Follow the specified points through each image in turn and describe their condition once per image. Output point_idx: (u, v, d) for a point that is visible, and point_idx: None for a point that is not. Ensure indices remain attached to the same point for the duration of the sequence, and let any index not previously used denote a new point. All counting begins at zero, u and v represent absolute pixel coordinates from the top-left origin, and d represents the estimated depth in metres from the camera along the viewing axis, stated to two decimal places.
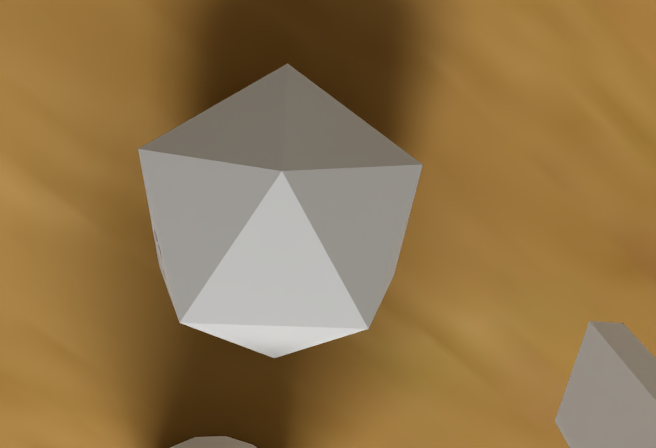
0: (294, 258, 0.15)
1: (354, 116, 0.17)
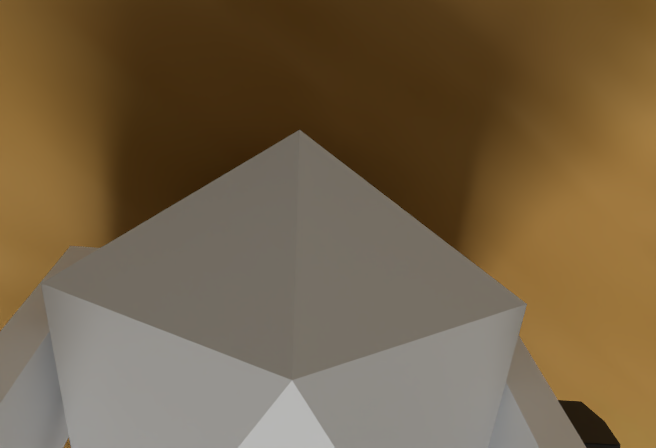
0: None
1: (412, 221, 0.10)
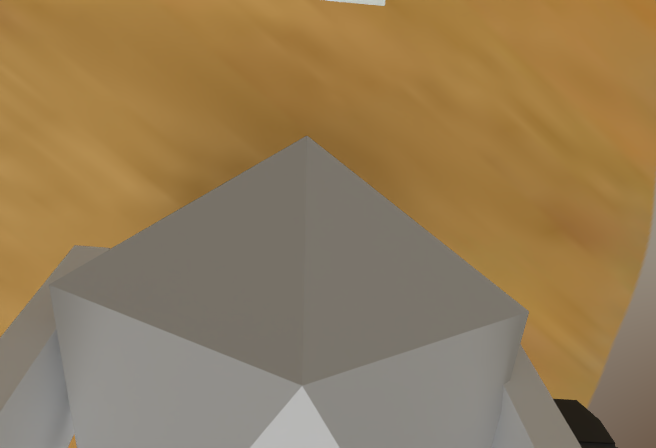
0: None
1: (416, 228, 0.10)
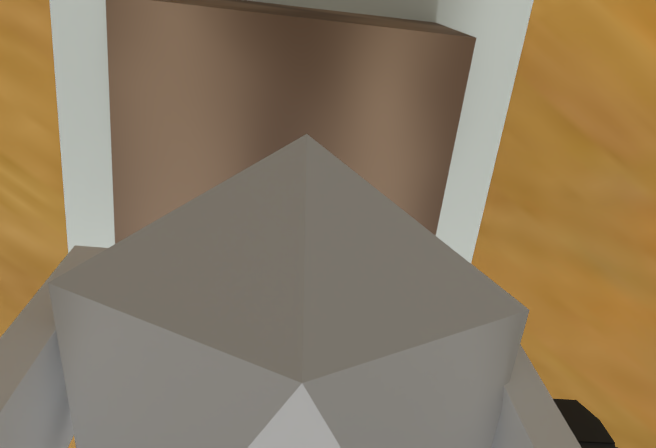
0: None
1: (417, 226, 0.10)
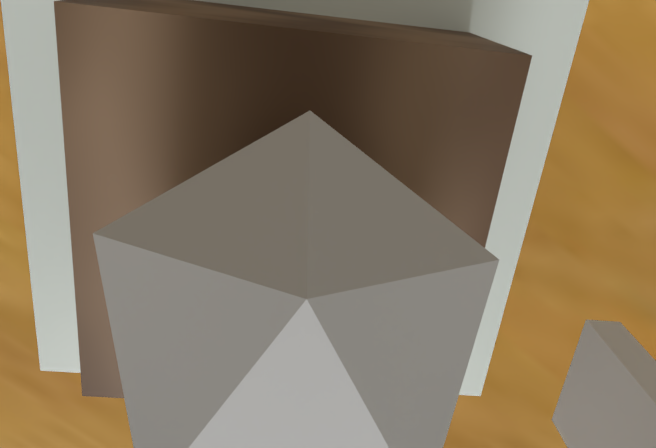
0: (320, 419, 0.10)
1: (403, 188, 0.12)
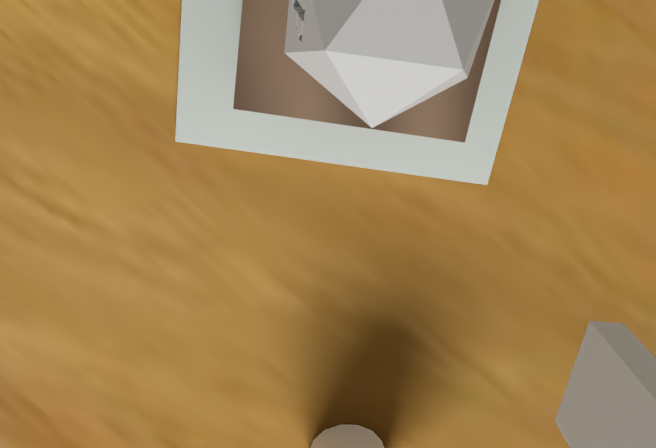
0: (417, 0, 0.20)
1: None
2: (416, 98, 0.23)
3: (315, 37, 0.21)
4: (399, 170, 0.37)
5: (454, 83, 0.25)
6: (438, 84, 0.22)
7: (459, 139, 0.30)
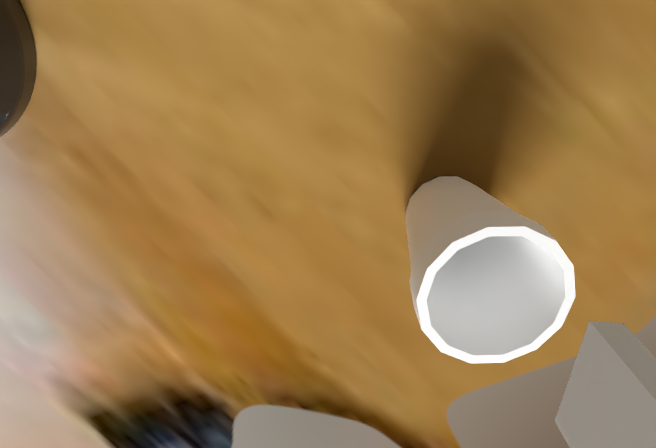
0: None
1: None
2: None
3: None
4: None
5: None
6: None
7: None
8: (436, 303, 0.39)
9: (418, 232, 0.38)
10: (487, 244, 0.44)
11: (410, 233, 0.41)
